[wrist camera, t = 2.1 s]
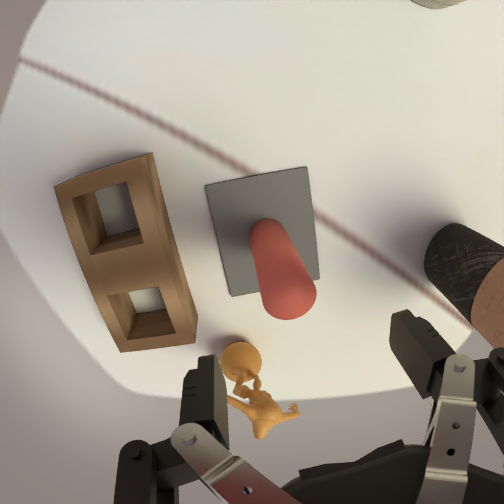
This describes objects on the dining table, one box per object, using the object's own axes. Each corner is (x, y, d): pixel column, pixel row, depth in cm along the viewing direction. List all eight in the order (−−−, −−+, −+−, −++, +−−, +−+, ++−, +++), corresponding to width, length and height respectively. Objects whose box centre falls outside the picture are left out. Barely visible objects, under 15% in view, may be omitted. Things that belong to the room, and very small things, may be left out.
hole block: (76, 176, 22) (53, 186, 19) (152, 152, 22) (138, 158, 19) (130, 326, 28) (120, 352, 25) (197, 315, 28) (195, 343, 25)
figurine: (193, 348, 30) (185, 450, 19) (218, 303, 28) (218, 408, 17) (266, 372, 32) (282, 467, 21) (295, 332, 30) (326, 430, 19)
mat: (205, 185, 24) (205, 186, 23) (306, 166, 24) (307, 167, 24) (231, 295, 28) (231, 297, 28) (318, 277, 28) (319, 279, 28)
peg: (245, 222, 25) (258, 278, 16) (282, 215, 25) (314, 267, 16) (252, 256, 26) (266, 324, 17) (287, 249, 26) (318, 313, 17)
